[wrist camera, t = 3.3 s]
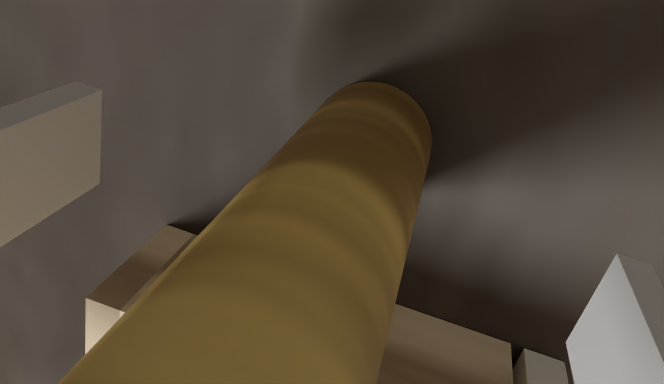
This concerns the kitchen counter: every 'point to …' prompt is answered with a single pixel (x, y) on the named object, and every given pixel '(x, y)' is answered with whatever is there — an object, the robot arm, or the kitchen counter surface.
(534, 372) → the awning
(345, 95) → the peg
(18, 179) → the robot arm
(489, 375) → the socket block
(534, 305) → the kitchen counter surface
